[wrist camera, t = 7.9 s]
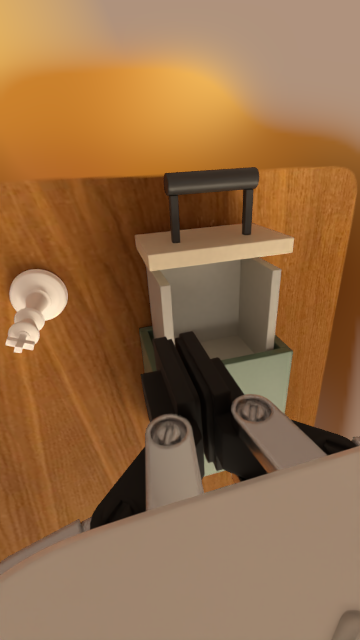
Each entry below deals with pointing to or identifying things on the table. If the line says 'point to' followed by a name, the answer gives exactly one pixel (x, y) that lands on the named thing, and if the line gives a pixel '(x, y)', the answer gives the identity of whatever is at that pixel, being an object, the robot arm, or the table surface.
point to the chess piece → (34, 305)
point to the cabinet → (243, 373)
